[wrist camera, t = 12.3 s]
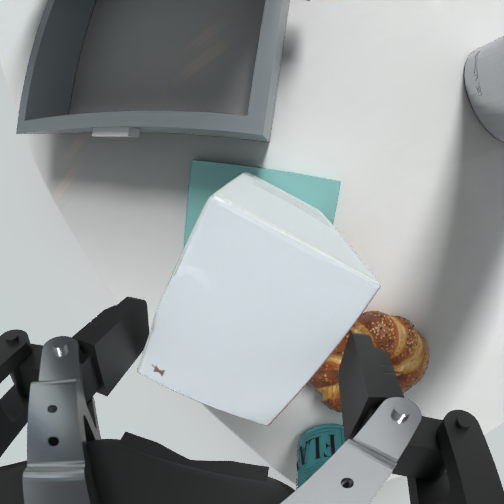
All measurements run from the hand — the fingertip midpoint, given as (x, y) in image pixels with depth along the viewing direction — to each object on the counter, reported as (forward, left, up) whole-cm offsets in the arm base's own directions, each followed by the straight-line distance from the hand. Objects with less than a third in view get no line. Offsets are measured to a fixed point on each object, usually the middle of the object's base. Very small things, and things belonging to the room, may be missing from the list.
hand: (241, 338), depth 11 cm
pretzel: (-11, +9, -13) cm, 20 cm away
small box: (+1, -1, -12) cm, 12 cm away
